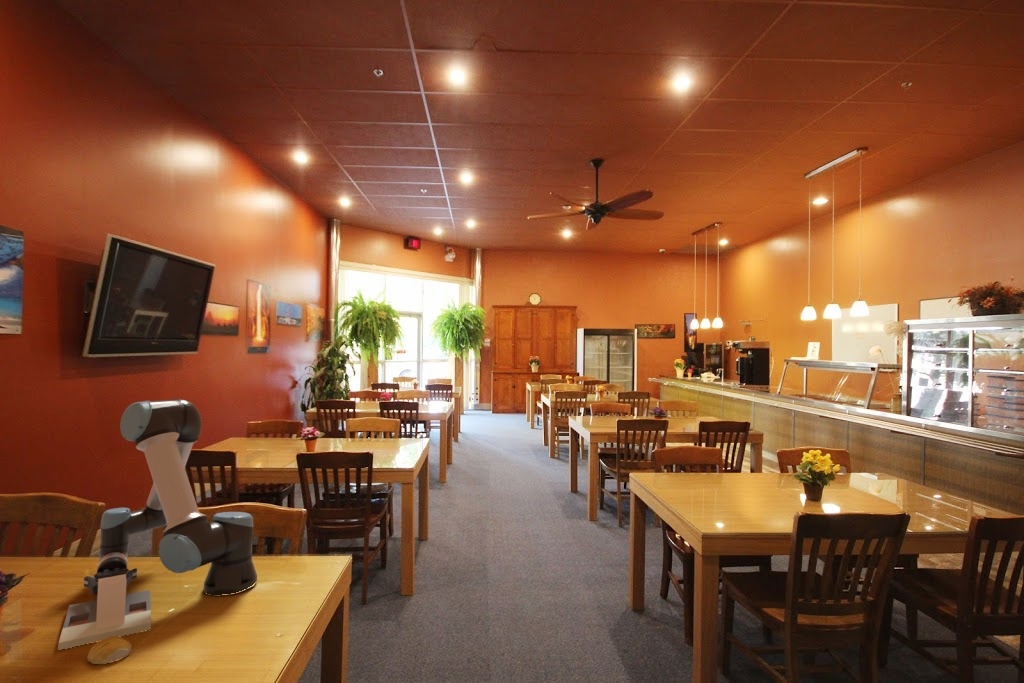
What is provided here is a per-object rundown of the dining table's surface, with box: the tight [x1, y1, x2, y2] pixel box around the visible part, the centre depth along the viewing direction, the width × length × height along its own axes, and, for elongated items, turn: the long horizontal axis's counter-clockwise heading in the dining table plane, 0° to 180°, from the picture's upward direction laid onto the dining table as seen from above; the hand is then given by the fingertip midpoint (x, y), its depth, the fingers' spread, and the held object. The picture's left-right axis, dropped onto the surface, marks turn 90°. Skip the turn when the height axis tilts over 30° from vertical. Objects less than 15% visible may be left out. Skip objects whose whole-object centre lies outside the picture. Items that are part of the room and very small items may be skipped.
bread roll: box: [87, 636, 133, 665], centre depth 130 cm, size 8×9×4 cm
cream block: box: [96, 574, 127, 630], centre depth 142 cm, size 6×6×11 cm
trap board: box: [62, 589, 152, 629], centre depth 150 cm, size 16×19×2 cm
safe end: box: [57, 609, 152, 651], centre depth 140 cm, size 8×19×2 cm, turn 125°
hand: (108, 597), depth 144 cm, fingers closed
